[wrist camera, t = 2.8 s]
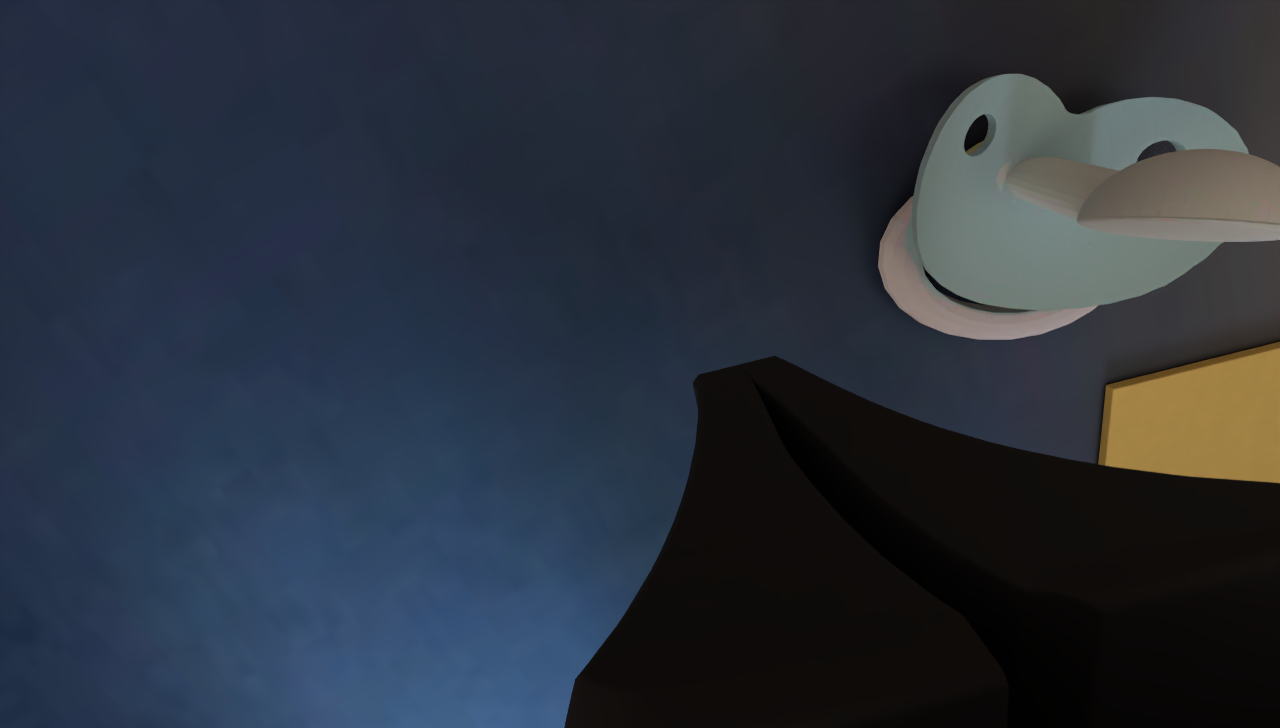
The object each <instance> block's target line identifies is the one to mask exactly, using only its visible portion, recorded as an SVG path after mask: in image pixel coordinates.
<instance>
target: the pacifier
mask: <svg viewBox="0 0 1280 728" xmlns="http://www.w3.org/2000/svg"><path fill="white" fill-rule="evenodd" d="M983 114H985V116H986V117H987V119H988V132H987V135H986V138H985V140H984V141H982V142H980V143H978V144H976V145H975V146H973V147H972V148H970V149H969V150H967V151H966V152H965V149H964V140H965V137H966V133H967V131H968V129H969V127H970V126H971V125H972V123H973V122H974V121H975V120H976V119H977V118H978V117H979V116H981V115H983ZM1164 140H1167V141H1169V142H1170V143H1172V144H1173V145H1174V147H1175V149H1176V151H1175V152H1170V153H1165V154H1161V155H1157V156H1153V157H1150V158H1147V159H1144V160H1142V161H1139V162H1137V159H1138V157H1139V155H1140V154H1141V152H1142V151H1143V150H1144V149H1146V148H1147V147H1148V146H1150V145H1151V144H1153V143H1155V142H1159V141H1164ZM1272 240H1280V167H1278V166H1277V165H1275V164H1273V163H1271V162H1269V161H1267V160H1264V159H1262V158H1259V157H1256V156H1253V155H1250V154H1249V153H1248V149H1247V147H1246V146H1245V145H1244V143H1243V141H1242V140H1241V138H1240V136H1239V134H1238V132H1237V131H1236V130H1235V129H1234V128H1233V127H1231V126H1230V125H1229V124H1228V123H1227V122H1226V121H1225V120H1224V119H1222V118H1221V117H1220V116H1219V115H1217V114H1216V113H1214V112H1213V111H1211V110H1209V109H1207V108H1205V107H1202V106H1200V105H1197V104H1193V103H1190V102H1186V101H1183V100H1179V99H1173V98H1159V97H1146V98H1137V99H1127V100H1122V101H1118V102H1113V103H1109V104H1105V105H1101V106H1098V107H1095V108H1093V109H1091V110H1088V111H1086V112H1083V113H1081V114H1079V115H1078V114H1072V113H1070V112H1068V111H1067V110H1066V109H1065V108H1064V105H1063V104H1062V102H1061V100H1060V99H1059V98H1058V97H1057V96H1056V95H1055V94H1054V92H1053V91H1052V90H1051V89H1050V88H1049V87H1048V86H1046V85H1045V84H1043V83H1041V82H1040V81H1039V80H1037V79H1036V78H1032V77H1029V76H1026V75H1023V74H1003V75H997V76H993V77H989V78H985V79H983V80H981V81H979V82H977V83H975V84H973V85H972V86H970V87H969V88H967V89H966V90H965V91H964V92H962V93H961V94H960V95H959V96H958V97H957V98H956V99H955V100H954V102H953V103H952V104H951V105H950V106H949V108H948V109H947V111H946V112H945V114H944V115H943V117H942V118H941V120H940V121H939V122H938V124H937V126H936V128H935V130H934V132H933V135H932V137H931V139H930V141H929V144H928V146H927V149H926V151H925V154H924V156H923V159H922V162H921V164H920V168H919V172H918V176H917V181H916V185H915V191H914V196H912V197H911V198H910V199H909V200H908V201H907V202H906V203H905V204H904V205H903V206H902V207H901V208H900V210H899V211H898V212H897V213H896V214H895V215H894V216H893V217H892V218H891V220H890V222H889V224H888V227H887V229H886V231H885V233H884V235H883V237H882V239H881V241H880V251H879V262H878V267H879V271H880V274H881V277H882V281H883V284H884V287H885V289H886V291H887V292H888V293H889V295H890V296H891V297H892V299H893V300H894V301H895V303H896V304H897V305H898V307H899V308H900V309H902V310H903V311H904V312H906V313H907V314H909V315H910V316H911V317H913V318H914V319H915V320H917V321H918V322H920V323H921V324H924V325H926V326H929V327H931V328H934V329H936V330H938V331H941V332H943V333H946V334H950V335H956V336H961V337H967V338H972V339H978V340H1011V339H1017V338H1022V337H1028V336H1033V335H1039V334H1043V333H1046V332H1048V331H1051V330H1054V329H1057V328H1059V327H1062V326H1065V325H1068V324H1070V323H1072V322H1073V321H1075V320H1077V319H1078V318H1080V317H1082V316H1083V315H1085V314H1087V313H1088V312H1090V311H1092V310H1093V309H1095V308H1096V307H1097V306H1098V305H1103V304H1110V303H1115V302H1118V301H1121V300H1125V299H1129V298H1133V297H1137V296H1141V295H1144V294H1146V293H1148V292H1150V291H1152V290H1155V289H1157V288H1160V287H1162V286H1165V285H1167V284H1168V283H1170V282H1172V281H1173V280H1175V279H1176V278H1178V277H1179V276H1181V275H1183V274H1184V273H1186V272H1187V271H1188V270H1189V269H1190V268H1192V267H1193V266H1195V265H1196V264H1198V263H1199V262H1201V261H1202V260H1204V259H1205V258H1206V257H1207V256H1208V255H1210V254H1211V253H1212V252H1213V251H1214V250H1215V249H1216V248H1217V247H1218V246H1219V245H1220V244H1221V243H1223V242H1251V241H1272ZM922 265H923V266H922ZM923 267H924V268H925V270H926V271H927V272H928V273H929V274H930V275H931V276H932V277H933V278H934V279H935V280H936V281H937V282H938V283H939V284H940V285H942V286H943V287H945V288H947V289H948V290H950V291H951V292H953V293H955V294H956V295H959V296H961V297H964V298H967V299H969V300H972V301H975V302H978V303H981V304H986V305H979V304H974V303H969V302H963V301H959V300H957V299H954V298H952V297H949V296H947V295H944V294H942V293H940V292H939V291H937V290H936V289H935V288H934V286H933V285H932V284H931V282H930V281H929V280H928V278H927V277H926V276H925V272H924V269H923Z"/></svg>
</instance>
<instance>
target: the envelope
mask: <svg viewBox="0 0 1280 728" xmlns="http://www.w3.org/2000/svg"><path fill="white" fill-rule="evenodd" d="M1098 464H1099V465H1105V466H1111V467H1118V468H1126V469H1134V470H1142V471H1149V472H1157V473H1165V474H1172V475H1181V476H1191V477H1204V478H1218V479H1232V480H1246V481H1260V482H1273V483H1280V342H1276V343H1272V344H1268V345H1264V346H1260V347H1256V348H1252V349H1248V350H1244V351H1240V352H1236V353H1232V354H1228V355H1224V356H1220V357H1216V358H1212V359H1208V360H1204V361H1200V362H1196V363H1192V364H1188V365H1184V366H1180V367H1176V368H1172V369H1168V370H1164V371H1160V372H1156V373H1152V374H1148V375H1144V376H1140V377H1136V378H1132V379H1128V380H1124V381H1120V382H1116V383H1112V384H1108V385H1106V392H1105V402H1104V412H1103V422H1102V432H1101V442H1100V452H1099V462H1098Z"/></svg>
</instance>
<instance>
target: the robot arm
mask: <svg viewBox="0 0 1280 728" xmlns="http://www.w3.org/2000/svg"><path fill="white" fill-rule="evenodd" d="M693 386H694V391H695V396H696V401H697V406H698V425H697V435H696V443H695V449H694V454H693V458H692V463H691V468H690V472H689V477H688V481H687V484H686V488H685V491H684V494H683V497H682V500H681V503H680V506H679V509H678V512H677V515H676V517H675V520H674V522H673V525H672V527H671V529H670V532H669V534H668V536H667V538H666V541H665V543H664V545H663V548H662V550H661V552H660V554H659V556H658V558H657V560H656V562H655V564H654V566H653V568H652V570H651V571H650V573H649V575H648V576H647V578H646V580H645V581H644V583H643V585H642V586H641V588H640V590H639V591H638V593H637V595H636V596H635V598H634V600H633V601H632V603H631V605H630V606H629V608H628V610H627V611H626V613H625V614H624V616H623V617H622V619H621V620H620V622H619V623H618V625H617V626H616V627H615V629H614V630H613V631H612V633H611V634H610V635H609V637H608V638H607V639H606V641H605V642H604V643H603V645H602V646H601V647H600V648H599V650H598V651H597V652H596V654H595V655H594V656H593V658H592V659H591V660H590V662H589V663H588V664H587V665H586V667H585V668H584V669H583V671H582V672H581V673H580V674H579V675H578V676H577V678H576V679H575V683H574V687H573V691H572V695H571V700H570V704H569V709H568V713H567V718H566V722H565V728H1280V483H1273V482H1260V481H1246V480H1232V479H1218V478H1204V477H1191V476H1181V475H1172V474H1165V473H1157V472H1149V471H1142V470H1134V469H1126V468H1118V467H1111V466H1105V465H1099V464H1093V463H1087V462H1081V461H1075V460H1069V459H1064V458H1059V457H1054V456H1050V455H1045V454H1040V453H1035V452H1030V451H1025V450H1021V449H1016V448H1012V447H1008V446H1004V445H1000V444H995V443H991V442H988V441H984V440H981V439H977V438H974V437H970V436H967V435H963V434H960V433H957V432H953V431H950V430H946V429H943V428H940V427H937V426H934V425H931V424H928V423H925V422H922V421H919V420H917V419H914V418H911V417H909V416H906V415H904V414H901V413H898V412H896V411H893V410H891V409H888V408H885V407H883V406H881V405H878V404H876V403H874V402H871V401H869V400H866V399H864V398H862V397H860V396H857V395H855V394H853V393H851V392H849V391H847V390H844V389H842V388H840V387H838V386H836V385H834V384H832V383H830V382H828V381H826V380H824V379H822V378H820V377H818V376H816V375H814V374H811V373H809V372H807V371H805V370H804V369H802V368H800V367H798V366H796V365H794V364H791V363H789V362H787V361H785V360H783V359H781V358H779V357H776V356H773V357H768V358H764V359H760V360H756V361H752V362H748V363H744V364H740V365H736V366H732V367H728V368H724V369H720V370H716V371H712V372H708V373H704V374H700V375H698V376H697V378H696V379H695V381H694V382H693Z"/></svg>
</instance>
